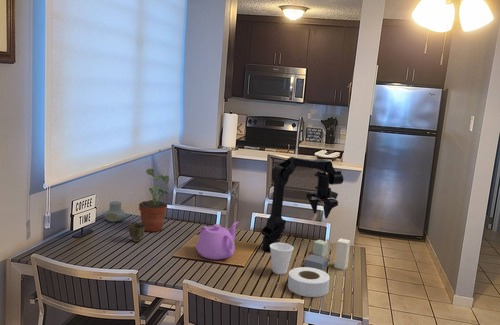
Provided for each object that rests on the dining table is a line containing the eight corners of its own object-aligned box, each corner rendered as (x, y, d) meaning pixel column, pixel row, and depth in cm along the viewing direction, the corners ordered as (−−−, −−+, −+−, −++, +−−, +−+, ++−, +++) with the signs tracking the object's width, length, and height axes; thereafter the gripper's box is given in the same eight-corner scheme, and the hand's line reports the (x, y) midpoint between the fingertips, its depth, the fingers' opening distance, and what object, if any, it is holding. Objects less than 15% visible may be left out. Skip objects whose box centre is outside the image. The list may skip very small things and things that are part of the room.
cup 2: (275, 278, 178) (277, 251, 176) (263, 268, 187) (265, 243, 185) (296, 274, 183) (298, 249, 181) (283, 265, 191) (285, 241, 189)
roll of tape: (282, 291, 167) (283, 277, 166) (293, 276, 181) (294, 263, 180) (323, 301, 161) (325, 286, 160) (331, 285, 176) (333, 271, 175)
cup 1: (125, 242, 206) (125, 225, 205) (134, 237, 213) (135, 221, 212) (138, 245, 204) (138, 228, 202) (147, 240, 211) (148, 224, 209)
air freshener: (101, 221, 234) (102, 203, 233) (109, 217, 242) (109, 199, 241) (121, 224, 233) (121, 205, 231) (128, 219, 241) (128, 201, 239)
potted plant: (165, 235, 220) (168, 165, 215) (134, 232, 220) (137, 163, 215) (171, 225, 235) (174, 160, 230) (142, 223, 235) (145, 158, 230)
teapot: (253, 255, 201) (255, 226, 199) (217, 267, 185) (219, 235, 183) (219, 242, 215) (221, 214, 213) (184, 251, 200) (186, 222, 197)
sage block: (321, 257, 205) (323, 244, 204) (312, 253, 208) (313, 241, 208) (327, 254, 209) (328, 242, 208) (318, 251, 212) (319, 239, 211)
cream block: (334, 267, 193) (337, 241, 192) (337, 264, 198) (340, 238, 196) (344, 270, 191) (347, 243, 190) (347, 266, 196) (350, 240, 194)
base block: (303, 268, 191) (304, 259, 190) (310, 262, 198) (310, 254, 197) (321, 272, 187) (322, 263, 187) (327, 266, 194) (328, 258, 194)
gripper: (348, 188, 214) (345, 219, 217) (324, 180, 230) (322, 209, 233) (329, 189, 209) (327, 221, 212) (306, 181, 225) (304, 211, 228)
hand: (320, 215), depth 221 cm, fingers open, 9 cm apart
